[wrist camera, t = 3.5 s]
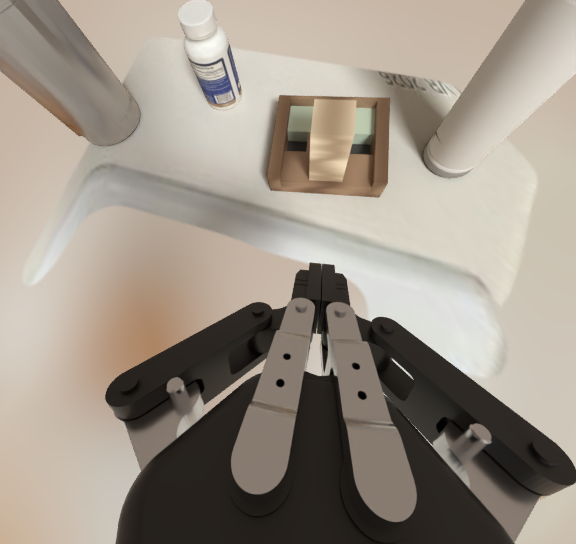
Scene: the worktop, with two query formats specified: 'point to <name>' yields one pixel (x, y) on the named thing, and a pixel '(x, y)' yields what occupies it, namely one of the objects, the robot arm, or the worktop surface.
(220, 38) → the pill bottle
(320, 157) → the birch block
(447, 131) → the travel mug
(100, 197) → the worktop surface
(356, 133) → the box
